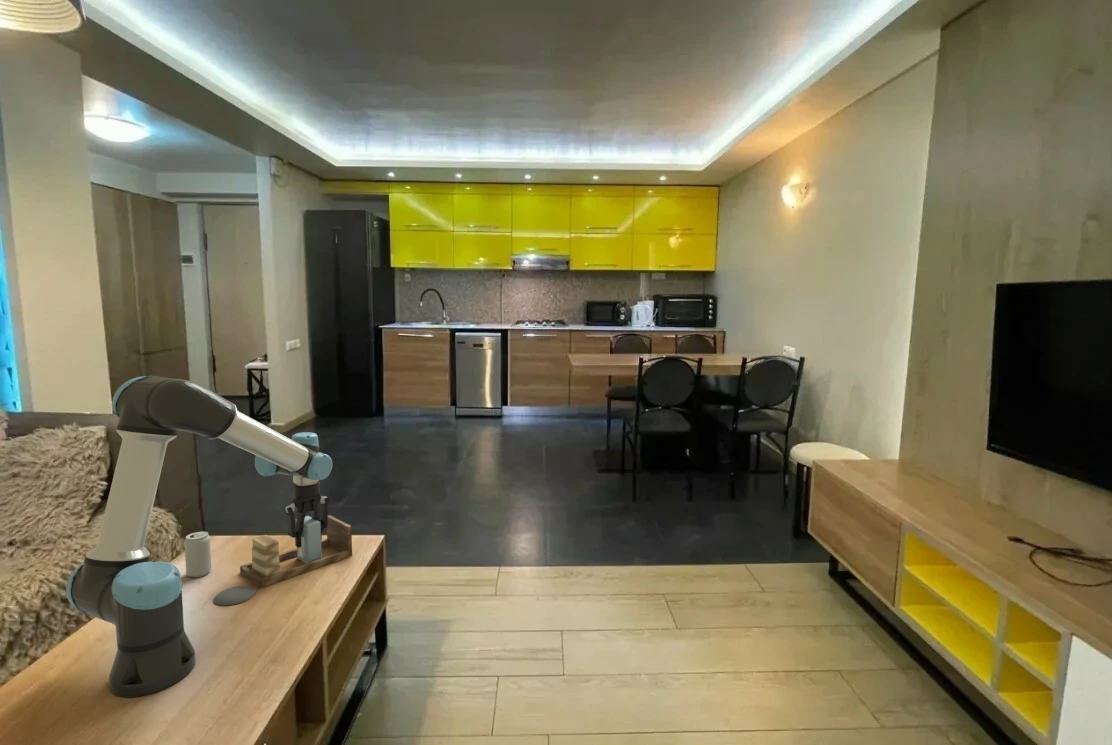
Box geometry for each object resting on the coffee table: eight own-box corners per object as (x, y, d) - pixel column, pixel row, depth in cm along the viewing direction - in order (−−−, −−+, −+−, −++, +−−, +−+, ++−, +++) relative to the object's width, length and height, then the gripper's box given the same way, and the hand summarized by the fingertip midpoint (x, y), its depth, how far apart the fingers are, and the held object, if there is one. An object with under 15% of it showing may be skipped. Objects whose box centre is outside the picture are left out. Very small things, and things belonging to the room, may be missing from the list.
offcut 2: (265, 569, 159) (264, 556, 159) (252, 560, 165) (251, 547, 165) (279, 564, 162) (278, 552, 162) (266, 555, 168) (265, 543, 168)
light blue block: (309, 566, 170) (307, 525, 169) (297, 558, 175) (295, 519, 174) (321, 561, 173) (320, 522, 172) (309, 554, 178) (308, 515, 177)
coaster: (221, 610, 145) (221, 608, 145) (208, 596, 151) (208, 595, 151) (261, 595, 152) (261, 594, 152) (247, 583, 159) (247, 582, 159)
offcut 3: (266, 583, 160) (266, 570, 159) (252, 572, 166) (252, 559, 165) (280, 578, 163) (280, 565, 162) (266, 567, 169) (265, 555, 168)
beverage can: (188, 570, 166) (186, 532, 165) (213, 566, 169) (211, 529, 167) (184, 580, 160) (182, 540, 159) (210, 576, 163) (208, 537, 161)
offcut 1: (264, 556, 159) (264, 546, 159) (252, 548, 164) (252, 538, 164) (278, 551, 162) (278, 541, 162) (266, 544, 167) (266, 534, 167)
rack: (259, 588, 156) (258, 554, 155) (240, 572, 165) (238, 540, 164) (352, 555, 178) (351, 525, 177) (330, 543, 187) (329, 515, 186)
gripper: (284, 491, 162) (287, 566, 165) (338, 478, 175) (340, 548, 178) (273, 485, 167) (276, 559, 170) (327, 473, 180) (329, 541, 183)
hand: (309, 553), depth 174 cm, fingers closed on light blue block, 4 cm apart
